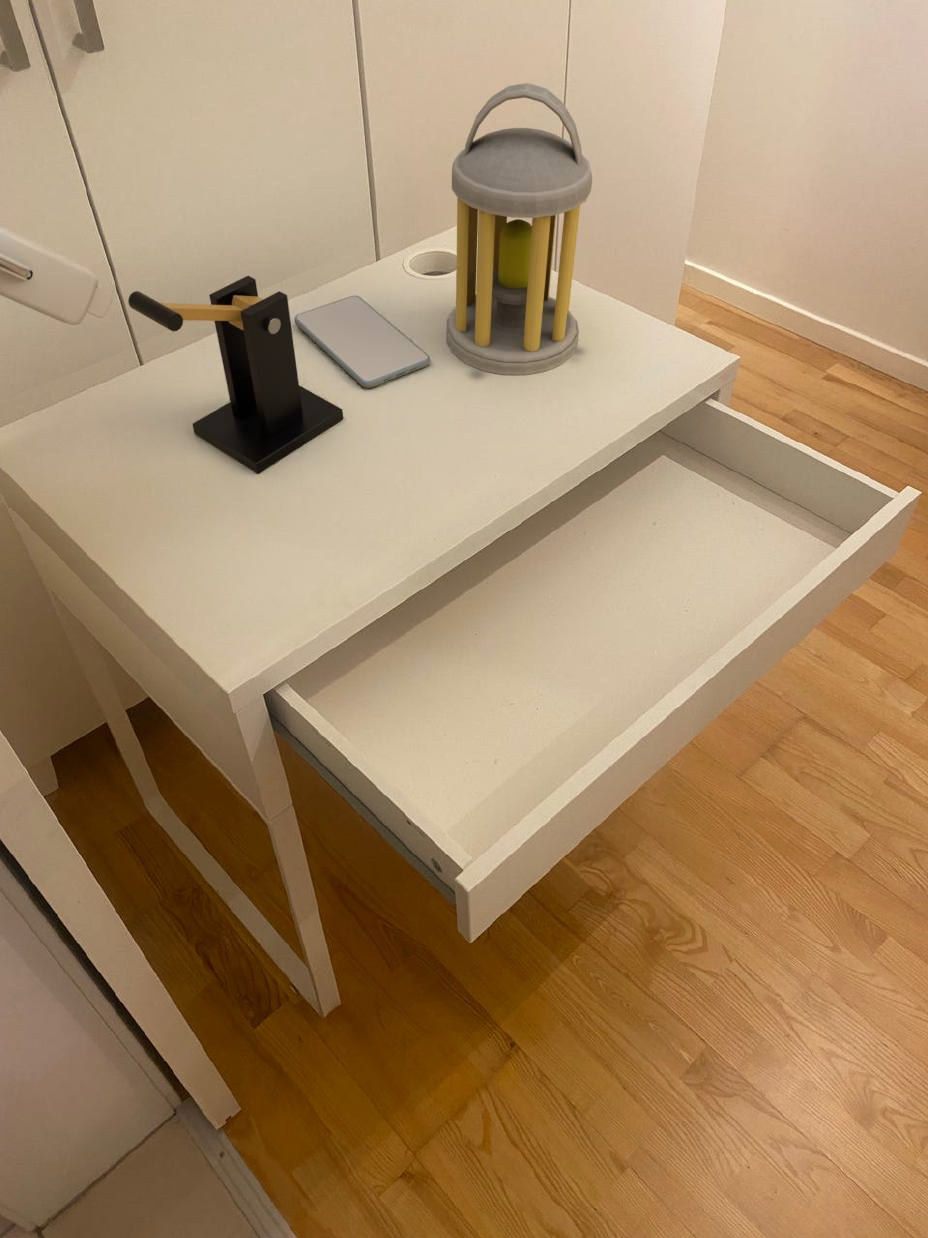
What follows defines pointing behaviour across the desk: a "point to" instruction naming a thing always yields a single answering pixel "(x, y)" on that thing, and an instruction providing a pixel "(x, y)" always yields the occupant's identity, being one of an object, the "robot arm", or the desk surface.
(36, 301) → the robot arm
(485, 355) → the lantern
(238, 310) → the lever
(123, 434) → the desk surface
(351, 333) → the smartphone
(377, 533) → the desk surface
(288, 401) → the switch bracket
